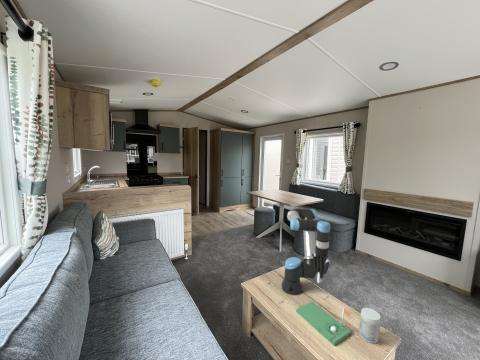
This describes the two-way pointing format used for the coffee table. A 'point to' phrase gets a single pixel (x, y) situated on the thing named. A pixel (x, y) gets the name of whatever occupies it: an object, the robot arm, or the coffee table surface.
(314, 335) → the coffee table surface
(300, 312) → the putting strip
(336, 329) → the ball
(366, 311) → the supplement tub
